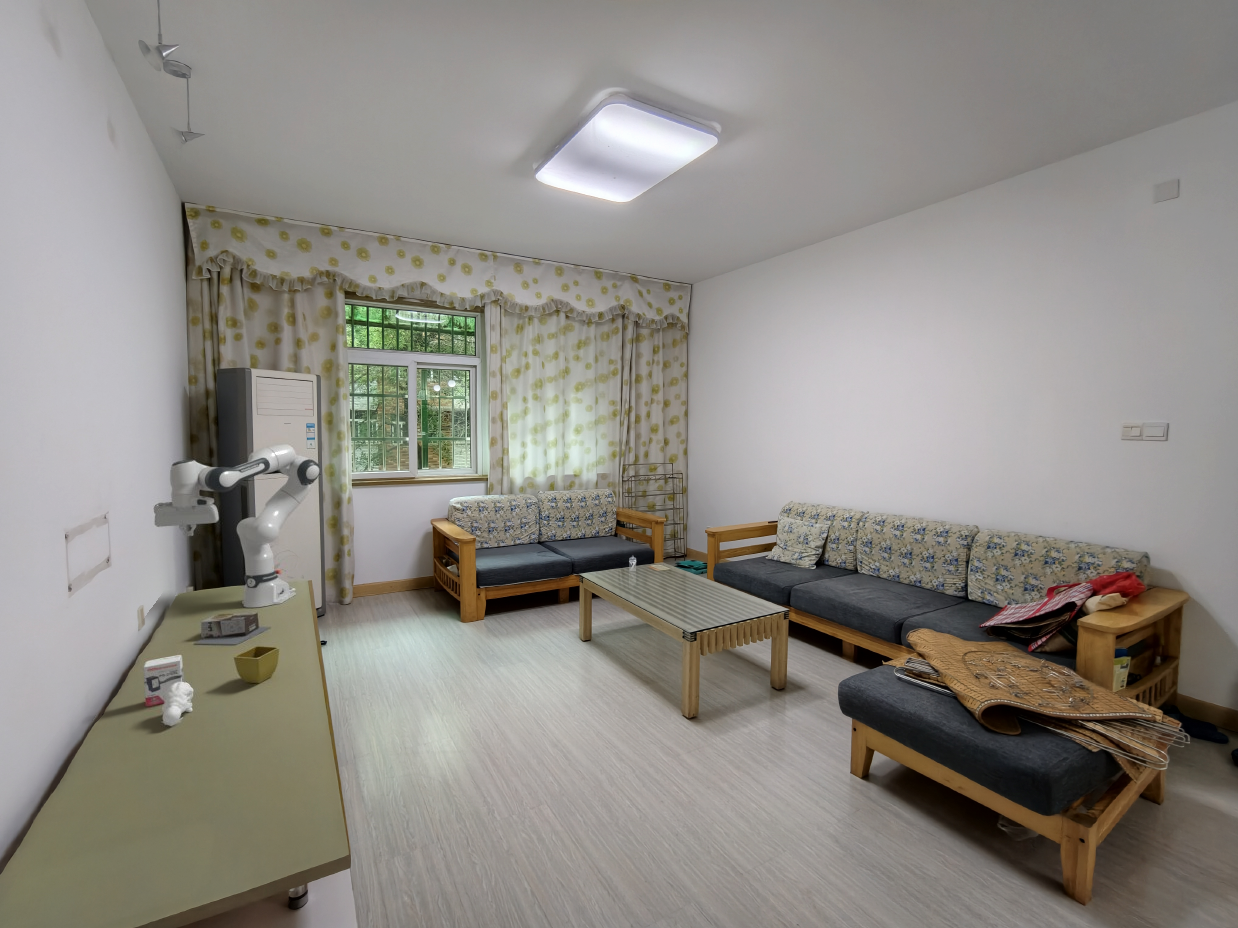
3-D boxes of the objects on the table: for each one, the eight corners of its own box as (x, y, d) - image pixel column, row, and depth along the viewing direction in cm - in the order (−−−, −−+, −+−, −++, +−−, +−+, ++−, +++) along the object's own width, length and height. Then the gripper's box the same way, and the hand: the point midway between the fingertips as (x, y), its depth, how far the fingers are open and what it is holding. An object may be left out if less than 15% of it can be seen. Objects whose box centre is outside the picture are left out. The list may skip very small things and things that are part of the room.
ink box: (145, 707, 160) (142, 666, 159) (147, 700, 164) (144, 660, 163) (183, 698, 164) (180, 659, 164) (184, 692, 168) (182, 653, 168)
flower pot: (258, 687, 171) (257, 658, 170) (234, 685, 173) (232, 656, 172) (281, 674, 180) (280, 647, 179) (258, 672, 181) (256, 645, 181)
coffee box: (201, 638, 213) (245, 636, 214) (200, 621, 212) (244, 619, 213) (217, 630, 222) (259, 628, 223) (216, 613, 222) (258, 612, 222)
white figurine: (193, 676, 159) (182, 698, 148) (196, 704, 160) (185, 728, 149) (165, 681, 156) (152, 704, 145) (168, 710, 157) (155, 734, 147)
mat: (231, 627, 226) (231, 626, 226) (271, 627, 224) (270, 626, 224) (193, 644, 208) (193, 643, 208) (235, 645, 206) (235, 644, 206)
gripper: (150, 504, 216) (152, 539, 217) (214, 500, 224) (216, 534, 225) (156, 502, 222) (158, 537, 223) (218, 498, 230) (220, 532, 231)
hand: (188, 535), depth 224 cm, fingers closed
